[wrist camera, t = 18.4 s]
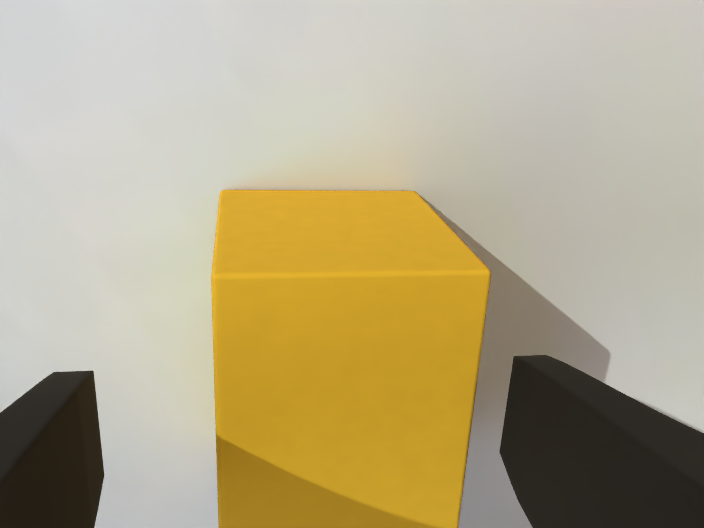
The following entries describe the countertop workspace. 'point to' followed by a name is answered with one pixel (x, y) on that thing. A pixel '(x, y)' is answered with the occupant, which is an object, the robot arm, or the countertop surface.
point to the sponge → (342, 359)
